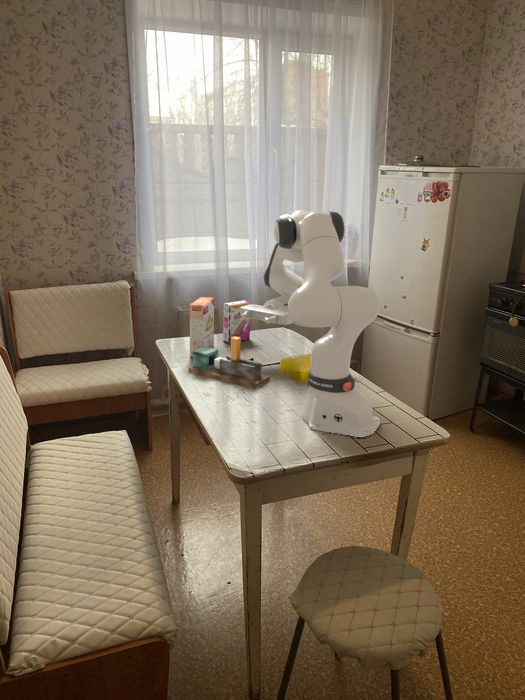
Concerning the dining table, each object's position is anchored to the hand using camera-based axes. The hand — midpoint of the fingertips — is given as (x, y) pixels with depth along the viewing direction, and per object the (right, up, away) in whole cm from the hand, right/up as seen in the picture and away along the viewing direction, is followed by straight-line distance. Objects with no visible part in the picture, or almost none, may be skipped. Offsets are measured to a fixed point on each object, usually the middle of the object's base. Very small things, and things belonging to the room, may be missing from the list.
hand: (254, 318), depth 187 cm
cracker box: (-21, -12, +21) cm, 32 cm away
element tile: (+19, -20, +3) cm, 27 cm away
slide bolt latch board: (-9, -20, -3) cm, 22 cm away
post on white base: (-8, -18, -4) cm, 20 cm away
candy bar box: (-8, -7, +37) cm, 39 cm away
